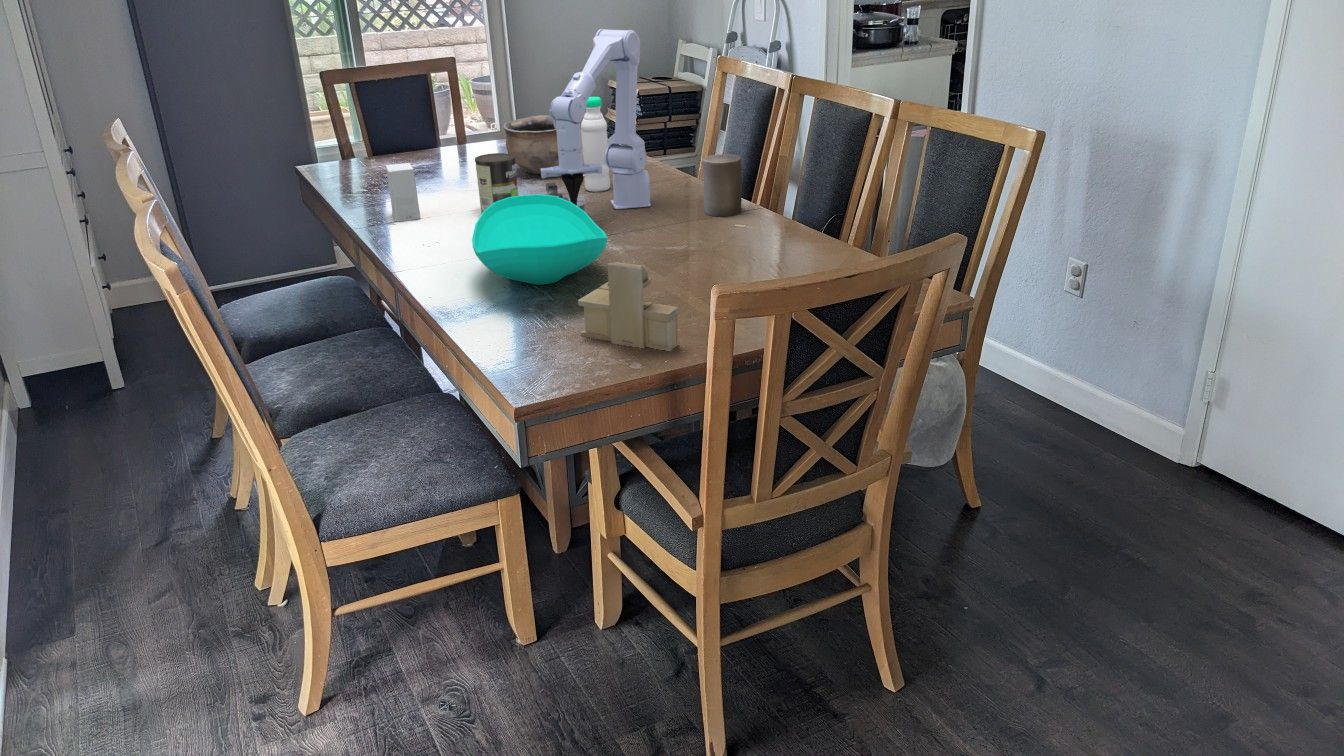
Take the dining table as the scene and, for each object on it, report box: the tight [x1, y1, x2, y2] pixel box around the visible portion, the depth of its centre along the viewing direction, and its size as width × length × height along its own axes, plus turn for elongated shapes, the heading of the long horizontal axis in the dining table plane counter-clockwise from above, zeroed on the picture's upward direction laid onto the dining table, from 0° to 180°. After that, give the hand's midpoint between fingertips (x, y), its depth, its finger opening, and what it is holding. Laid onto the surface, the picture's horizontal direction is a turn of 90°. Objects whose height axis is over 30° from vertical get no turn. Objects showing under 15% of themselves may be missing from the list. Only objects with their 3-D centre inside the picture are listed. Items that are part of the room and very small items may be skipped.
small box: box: [385, 162, 421, 223], centre depth 254 cm, size 8×6×13 cm
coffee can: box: [474, 152, 519, 214], centre depth 257 cm, size 10×10×14 cm
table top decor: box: [471, 193, 608, 286], centre depth 207 cm, size 40×28×13 cm
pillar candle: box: [702, 153, 743, 217], centre depth 250 cm, size 10×10×15 cm
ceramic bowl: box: [502, 114, 559, 175], centre depth 294 cm, size 22×22×15 cm
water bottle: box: [580, 96, 611, 193], centre depth 272 cm, size 7×7×25 cm
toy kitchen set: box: [577, 261, 680, 352], centre depth 180 cm, size 18×17×15 cm
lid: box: [545, 182, 587, 207], centre depth 246 cm, size 14×24×3 cm, turn 17°
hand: (573, 204), depth 241 cm, fingers closed
